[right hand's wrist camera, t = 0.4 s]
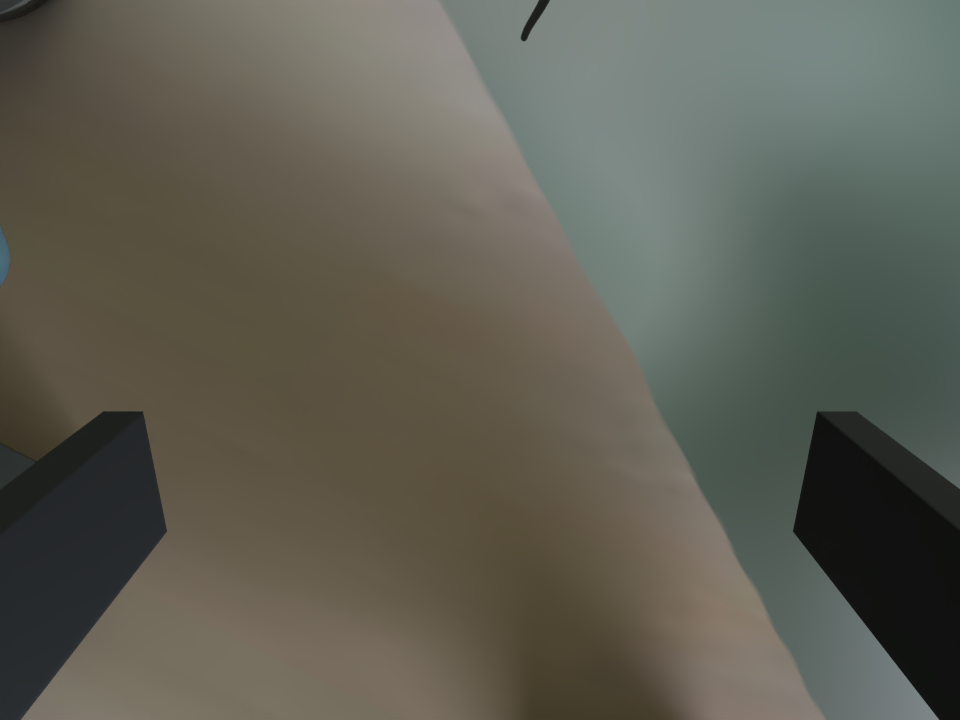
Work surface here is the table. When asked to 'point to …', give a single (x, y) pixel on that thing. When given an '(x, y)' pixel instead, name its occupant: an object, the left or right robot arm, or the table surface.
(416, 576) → the table surface
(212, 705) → the table surface
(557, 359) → the table surface
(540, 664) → the table surface
